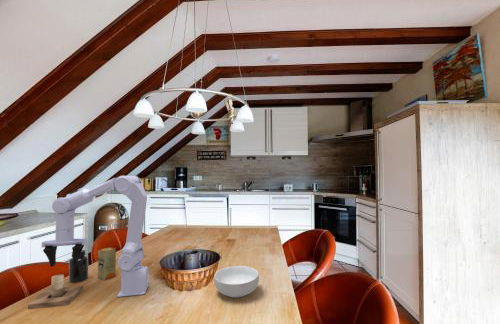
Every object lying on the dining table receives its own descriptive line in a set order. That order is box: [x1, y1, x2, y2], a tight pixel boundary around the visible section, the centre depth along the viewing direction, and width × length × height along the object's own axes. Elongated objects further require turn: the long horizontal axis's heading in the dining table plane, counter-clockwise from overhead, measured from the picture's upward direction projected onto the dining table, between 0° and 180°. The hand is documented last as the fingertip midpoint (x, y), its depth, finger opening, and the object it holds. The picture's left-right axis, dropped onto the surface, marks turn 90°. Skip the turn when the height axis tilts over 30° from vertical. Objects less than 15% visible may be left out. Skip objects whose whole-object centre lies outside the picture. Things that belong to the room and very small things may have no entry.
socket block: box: [27, 285, 84, 310], centre depth 94 cm, size 12×12×2 cm
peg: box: [50, 273, 65, 298], centre depth 94 cm, size 4×4×8 cm
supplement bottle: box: [68, 249, 89, 284], centre depth 111 cm, size 7×7×12 cm
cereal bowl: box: [213, 265, 260, 299], centre depth 97 cm, size 17×17×7 cm
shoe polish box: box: [97, 246, 117, 282], centre depth 113 cm, size 5×5×12 cm
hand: (64, 264), depth 99 cm, fingers open, 7 cm apart
